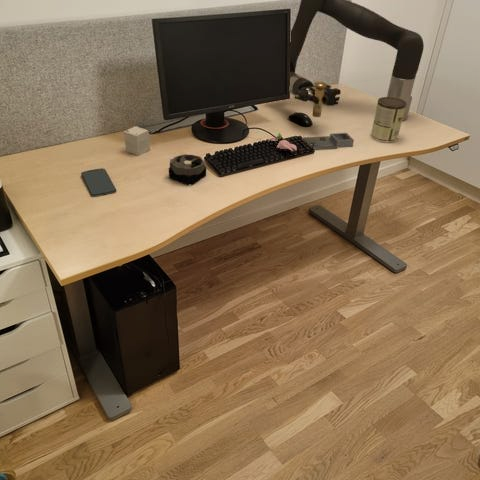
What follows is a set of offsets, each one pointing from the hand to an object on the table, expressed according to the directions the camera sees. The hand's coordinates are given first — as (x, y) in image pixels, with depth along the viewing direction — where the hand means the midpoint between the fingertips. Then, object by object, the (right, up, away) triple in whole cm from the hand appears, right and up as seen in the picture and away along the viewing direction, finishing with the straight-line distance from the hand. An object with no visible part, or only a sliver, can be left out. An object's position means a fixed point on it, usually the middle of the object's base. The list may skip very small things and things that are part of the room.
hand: (322, 101), depth 169 cm
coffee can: (+25, -12, +9) cm, 29 cm away
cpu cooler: (-47, -31, -23) cm, 61 cm away
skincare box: (-66, -20, -9) cm, 69 cm away
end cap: (+9, +11, +40) cm, 42 cm away
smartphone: (-73, -34, -29) cm, 86 cm away
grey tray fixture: (+1, -15, +1) cm, 16 cm away
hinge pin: (-1, -4, +6) cm, 7 cm away
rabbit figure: (-16, -19, -4) cm, 25 cm away
